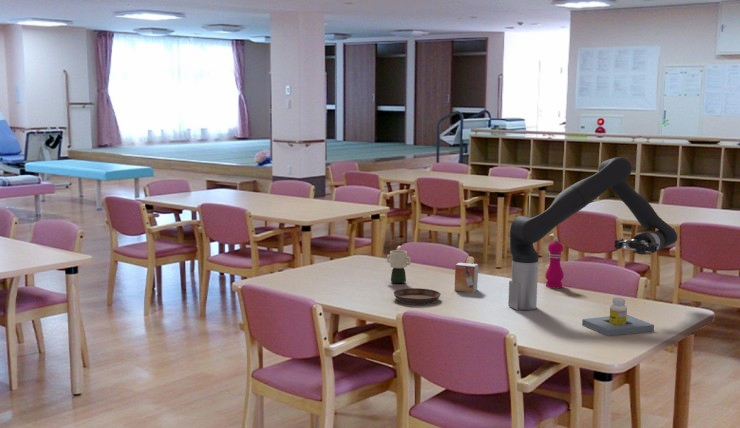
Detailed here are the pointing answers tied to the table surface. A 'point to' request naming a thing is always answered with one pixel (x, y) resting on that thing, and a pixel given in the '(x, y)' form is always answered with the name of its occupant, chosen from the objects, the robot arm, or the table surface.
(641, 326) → the hole board
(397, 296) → the plant saucer
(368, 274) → the table surface
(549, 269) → the pepper mill
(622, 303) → the supplement bottle
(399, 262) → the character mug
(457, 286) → the small box
